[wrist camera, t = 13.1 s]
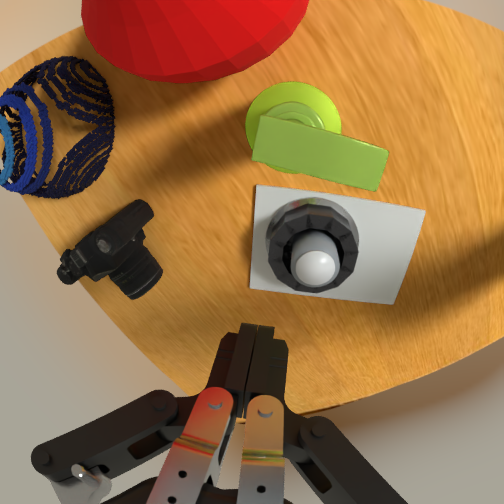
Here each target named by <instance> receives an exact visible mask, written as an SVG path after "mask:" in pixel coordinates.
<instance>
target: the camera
mask: <svg viewBox="0 0 504 504" xmlns="http://www.w3.org/2000/svg"><path fill="white" fill-rule="evenodd" d="M153 217H154V213H153V211H152V209H151V207H150V206H149V204H148V203H147V202H145V201H143V200H141V199H138V200H135V201H134V202H132V203H131V204H129V205H128V206H127V207H125V208H124V209H123V210H121V211H120V212H119V213H117V214H116V215H115V216H114V217H112V218H111V219H110V220H109V221H108V222H106V223H105V224H104V225H101V226H99V227H98V228H97V229H96V230H95V231H92V232H90V233H89V234H88V235H86V236H85V237H84V238H83V239H82V240H81V241H80V242H79V243H78V244H76V245H75V249H73V250H70V249H66V251H65V252H64V253H63V255H62V256H61V258H60V261H61V262H62V264H61V265H60V267H59V268H58V270H57V275H58V277H59V279H60V280H61V281H62V282H63V283H64V284H67V285H69V284H70V285H71V284H73V283H75V282H76V281H77V280H79V279H80V278H81V277H82V276H84V275H86V276H88V277H89V278H91V279H92V280H93V281H95V282H97V281H99V280H100V279H101V278H103V277H105V276H106V275H109V277H110V279H111V280H112V281H113V282H114V283H115V284H116V285H117V286H119V288H120V289H121V291H122V292H123V293H124V294H125V295H127V296H128V297H129V298H130V299H131V300H134V299H137V298H139V297H141V296H143V295H144V294H145V293H146V292H148V291H149V290H150V289H151V288H152V287H153V286H154V285H155V284H156V283H157V282H158V281H159V279H160V278H161V276H162V273H163V269H162V268H161V266H160V265H159V264H158V262H157V261H156V259H155V258H154V257H153V256H152V255H151V253H150V252H149V250H148V249H147V248H146V247H145V246H143V240H144V239H145V237H146V236H145V234H144V231H143V229H142V227H143V226H144V225H145V224H146V223H147V222H148V221H149V220H151V219H152V218H153Z"/></svg>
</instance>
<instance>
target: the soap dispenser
mask: <svg viewBox="0 0 504 504" xmlns="http://www.w3.org/2000/svg"><path fill="white" fill-rule="evenodd" d="M245 130H246V136H247V140H248V143H249V145H250V147H251V149H252V151H253V154H252V159H251V160H253V161H257V162H261V163H265V164H266V165H267V166H269V167H271V168H273V169H275V170H277V171H280V172H284V173H292V174H298V173H303V174H306V175H310V176H314V177H317V178H321V179H325V180H329V181H333V182H336V183H340V184H345V185H349V186H353V187H357V188H361V189H365V190H370V191H377V188H378V186H379V183H380V180H381V177H382V174H383V171H384V168H385V165H386V162H387V158H388V155H389V151H388V150H385V149H383V148H381V147H378V146H376V145H373V144H370V143H367V142H364V141H360V140H357V139H354V138H351V137H348V136H344V135H341V120H340V116H339V113H338V111H337V109H336V107H335V105H334V104H333V102H332V101H331V100H330V98H329V97H328V96H327V95H326V94H324V93H323V92H322V91H321V90H319V89H317V88H316V87H314V86H311V85H309V84H305V83H301V82H283V83H278V84H275V85H273V86H271V87H269V88H267V89H265V90H264V91H263V92H261V93H260V94H259V95H258V96H257V97H256V98H255V99H254V101H253V102H252V104H251V106H250V108H249V110H248V113H247V116H246V122H245Z"/></svg>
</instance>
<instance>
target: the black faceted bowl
mask: <svg viewBox="0 0 504 504" xmlns="http://www.w3.org/2000/svg"><path fill="white" fill-rule="evenodd" d="M308 228H314V229H321V230H327V231H329V232H330V233H331V234H333V236H334V239H335V244H336V248H337V253H338V258H339V263H340V268H339V272H338V274H337V276H336V278H335V279H334V280H333V281H332V282H330V283H329V284H327V285H324V286H321V287H308V286H305V285H303V284H301V283H299V282H298V281H297V280H296V279H295V278H294V276H293V275H292V272H291V255H292V241H293V237H294V235H295V233H297V232H300V231H303V230H306V229H308ZM265 244H266V250H267V254H268V263H269V265H270V266H271V268H272V270H273V272H274V274H275V276H276V278H277V280H279V281H281V282H282V283H284V284H285V285H287V286H288V287H290V288H292V289H293V290H295V291H301V292H309V293H320V292H324V291H327V290H330V289H333V288H336V287H339V286H340V285H341V284H342V283H343V282H344V281H345V280H346V279H347V278H348V277H349V276H350V275H351V274H352V273H353V272H354V268H355V265H356V261H357V257H358V253H359V251H358V246H359V233H358V229H357V226H356V224H355V221H354V220H353V218H352V216H351V215H350V214H349V213H348V211H347V210H346V209H344V208H343V207H342V206H341V205H339V204H338V203H336V202H334V201H331V200H328V199H325V198H320V197H305V198H300V199H297V200H294V201H292V202H289V203H288V204H286V205H284V206H283V207H282V208H281V209H279V210H278V211H277V212H276V213H275V215H274V216H273V217H272V219H271V221H270V223H269V225H268V228H267V231H266V237H265Z"/></svg>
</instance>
